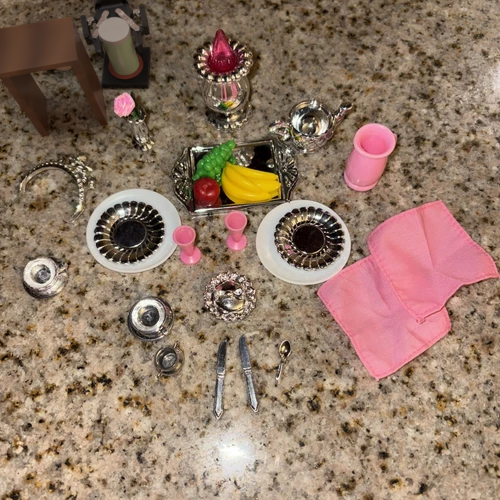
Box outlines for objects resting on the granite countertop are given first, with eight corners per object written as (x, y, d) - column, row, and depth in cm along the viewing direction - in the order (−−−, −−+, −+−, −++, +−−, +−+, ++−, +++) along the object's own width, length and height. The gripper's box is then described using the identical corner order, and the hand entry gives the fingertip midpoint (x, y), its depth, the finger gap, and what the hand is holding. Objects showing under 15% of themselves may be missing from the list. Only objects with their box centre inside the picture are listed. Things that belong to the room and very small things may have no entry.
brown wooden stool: (41, 137, 104) (-4, 74, 85) (38, 98, 107) (-7, 29, 88) (107, 124, 105) (77, 59, 86) (102, 87, 108) (71, 16, 89)
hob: (103, 88, 108) (100, 83, 106) (107, 51, 111) (105, 46, 110) (148, 88, 108) (146, 83, 107) (151, 51, 111) (149, 46, 110)
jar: (110, 75, 107) (96, 41, 98) (112, 52, 109) (99, 17, 100) (138, 75, 107) (128, 41, 98) (140, 52, 109) (130, 17, 100)
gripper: (71, -16, 103) (79, 45, 98) (139, -27, 104) (151, 33, 99) (82, 12, 110) (91, 71, 105) (145, 1, 111) (157, 59, 106)
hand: (120, 52), depth 102 cm, fingers open, 7 cm apart
